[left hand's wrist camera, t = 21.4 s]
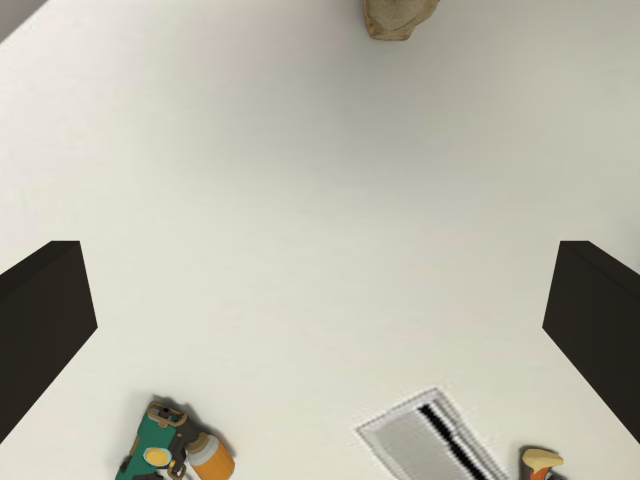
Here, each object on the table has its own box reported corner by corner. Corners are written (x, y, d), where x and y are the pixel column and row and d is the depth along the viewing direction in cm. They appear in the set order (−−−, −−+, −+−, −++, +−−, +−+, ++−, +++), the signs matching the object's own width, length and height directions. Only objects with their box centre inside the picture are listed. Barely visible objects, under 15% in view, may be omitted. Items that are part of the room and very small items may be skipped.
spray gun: (183, 512, 63) (93, 453, 60) (259, 452, 58) (165, 384, 55) (172, 542, 59) (75, 481, 56) (252, 481, 54) (150, 410, 51)
